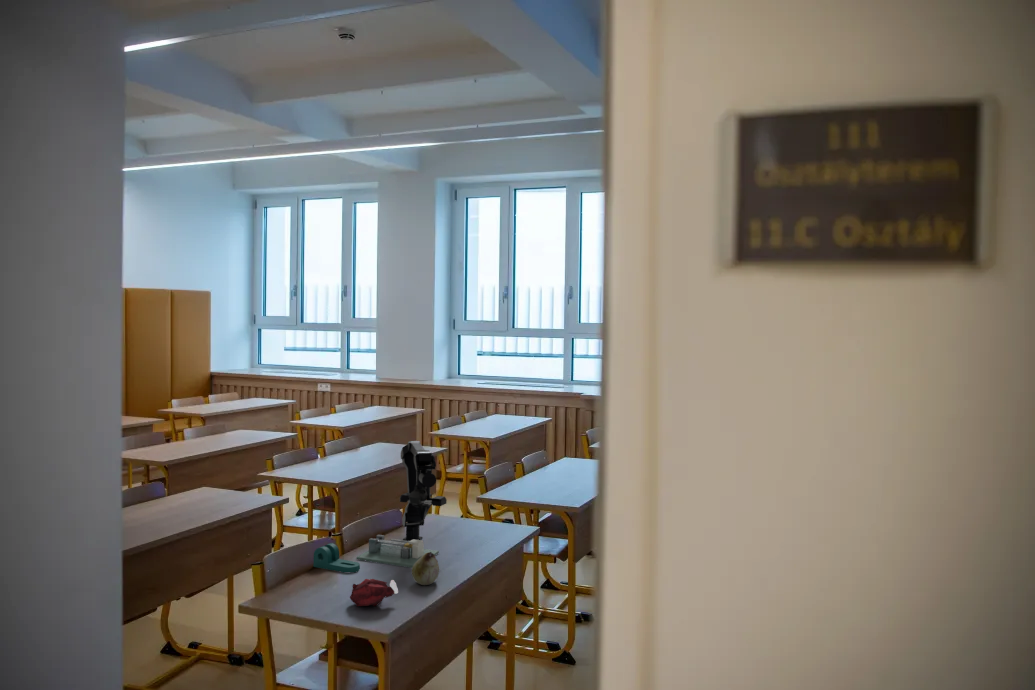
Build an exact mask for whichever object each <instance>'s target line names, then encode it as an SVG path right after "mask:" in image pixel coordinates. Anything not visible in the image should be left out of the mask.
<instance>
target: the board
mask: <svg viewBox="0 0 1035 690" xmlns="http://www.w3.org/2000/svg"><path fill="white" fill-rule="evenodd" d="M439 551H440V550H435V549H428V548H424V554H425V553H428V552H431V553H433V554H434V555H435V556H437V555H439V554H440V552H439ZM380 552H381V550H379V549H377V553H375V554H373V553H369V550H366V551H365V552H364V553H362V554H359V555H357V556H355V557H356V558H355V559H360V560H359V561H363V560H366V561H365V562H370V561H372V562H371V563H376V562H377V564H384V565H390V564H391V566H398V567H403V568H411V569H412V567H413V565H414V564H415V563H416V562H417V561H418V560H419V559H420V558H421V557H422V556H421V557H419V558H418V559H417V558H412V553H411V552H410V558H409V559H403V557H402V558H395V557H388V556H381V555H380ZM438 553H439V554H438ZM436 554H437V555H436Z"/></svg>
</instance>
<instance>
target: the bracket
mask: <svg viewBox="0 0 1035 690" xmlns="http://www.w3.org/2000/svg"><path fill="white" fill-rule="evenodd" d="M312 565H313V567H314V568H318V569H319V568H320V569H323V570H328V571H329V570H330V571H334V570H335V572H339V571H341V572H340V573H344V572H354V573H357V572H359V571H360V570H359V569H361V568H360V567H361V565H360V562H358V561H353V560H348V559H343V558H342V559H341V558H340V549H339V547H338V545H336V544H335V543H333V542H330V543H328V544H325V545H322V546H320V547H318V548H316V549H315V550H314V552H313V564H312ZM356 571H357V572H356Z"/></svg>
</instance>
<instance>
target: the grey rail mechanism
mask: <svg viewBox="0 0 1035 690" xmlns="http://www.w3.org/2000/svg"><path fill="white" fill-rule="evenodd" d="M375 536H376V538H372V537H371V538H369V539H368V551H369V553H373V554H375V553H377V549H379V550H381V552H380V555H381V556H388V557H395V558H402V557H403V559H409V558H410V552H411V553H412V548H410V547H401V546H394V545H386V544H377V538H380V539H381V540H385V535H384V534H383V535H382V534H377V535H375ZM390 541H397V542H405V543H408V542H409V541H406V540H403V539H396V538H391V539H390Z"/></svg>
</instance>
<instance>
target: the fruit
mask: <svg viewBox="0 0 1035 690" xmlns="http://www.w3.org/2000/svg"><path fill="white" fill-rule="evenodd" d="M439 573H440V565H439V563H438V559H437V557H436V555H434V554H433V553H431V552H428V553H425V554H424V555H423V556H422V557H421V558H420V559H419V560H418V561H417V562H416V563H415V564H414V565H413V567H412V568H411V575H412V578H413V579H414V581H415V582H416V583H417V584H419V585H420V586H421V585H422V586H428V585H432V584H434V583H435V582H436V579H438V577H439Z"/></svg>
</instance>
